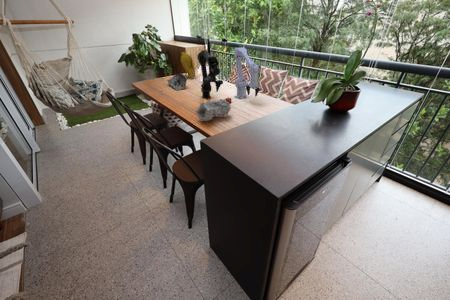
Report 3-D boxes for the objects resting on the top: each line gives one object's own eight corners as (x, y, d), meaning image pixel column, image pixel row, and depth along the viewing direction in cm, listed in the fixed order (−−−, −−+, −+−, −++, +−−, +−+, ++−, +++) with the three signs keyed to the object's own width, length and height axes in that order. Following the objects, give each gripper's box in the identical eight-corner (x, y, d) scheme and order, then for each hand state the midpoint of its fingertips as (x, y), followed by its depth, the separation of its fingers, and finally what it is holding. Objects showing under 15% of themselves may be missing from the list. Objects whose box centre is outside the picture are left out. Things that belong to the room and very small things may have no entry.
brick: (227, 101, 191) (227, 97, 188) (231, 102, 189) (231, 98, 186) (224, 103, 187) (224, 98, 185) (228, 104, 185) (228, 99, 183)
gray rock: (192, 83, 223) (180, 73, 240) (188, 78, 216) (175, 68, 233) (181, 95, 223) (169, 84, 240) (176, 91, 217) (164, 80, 234)
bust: (212, 120, 140) (239, 108, 156) (200, 99, 140) (228, 90, 156) (203, 130, 153) (228, 118, 170) (191, 111, 154) (218, 101, 170)
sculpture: (191, 75, 276) (188, 51, 262) (201, 77, 256) (198, 51, 242) (178, 77, 267) (174, 52, 252) (186, 80, 247) (182, 52, 232)
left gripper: (197, 72, 170) (199, 91, 178) (214, 76, 160) (215, 95, 169) (206, 70, 177) (207, 88, 186) (223, 73, 168) (223, 92, 176)
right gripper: (243, 79, 177) (243, 95, 184) (258, 82, 170) (257, 98, 178) (247, 78, 182) (246, 93, 189) (262, 80, 175) (260, 96, 182)
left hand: (213, 90), depth 179 cm, fingers open, 9 cm apart
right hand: (252, 95), depth 184 cm, fingers open, 7 cm apart
